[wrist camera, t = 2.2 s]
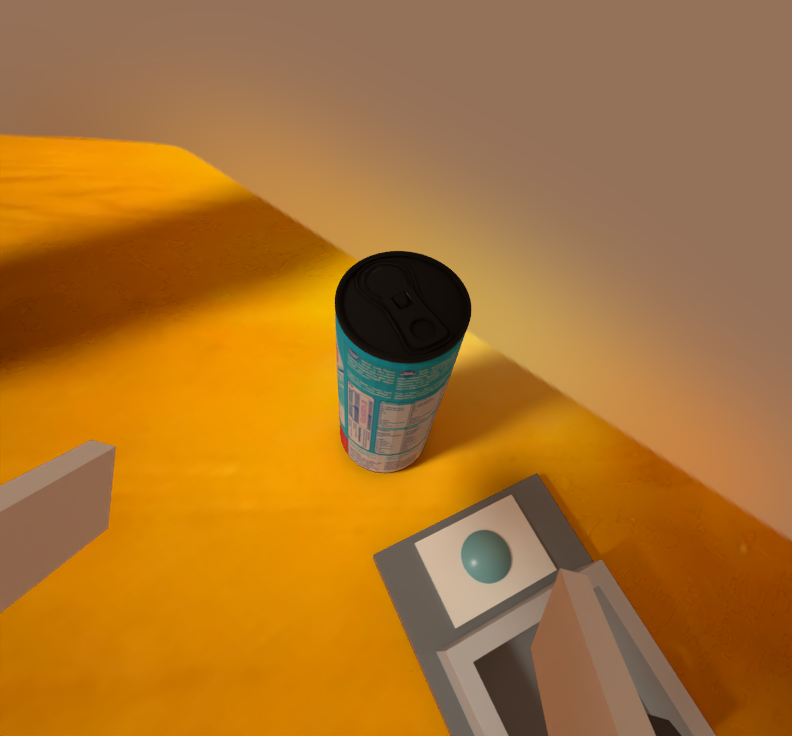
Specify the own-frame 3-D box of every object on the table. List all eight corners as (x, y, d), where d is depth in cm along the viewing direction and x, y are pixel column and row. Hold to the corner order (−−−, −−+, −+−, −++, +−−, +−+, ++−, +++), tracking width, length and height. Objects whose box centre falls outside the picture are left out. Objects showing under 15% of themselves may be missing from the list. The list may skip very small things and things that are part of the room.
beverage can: (407, 388, 36) (440, 239, 23) (437, 461, 33) (494, 339, 20) (329, 410, 34) (318, 264, 21) (355, 488, 32) (359, 375, 19)
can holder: (372, 557, 29) (375, 545, 26) (532, 477, 33) (553, 457, 29) (539, 939, 22) (574, 992, 18) (724, 782, 25) (783, 803, 22)
